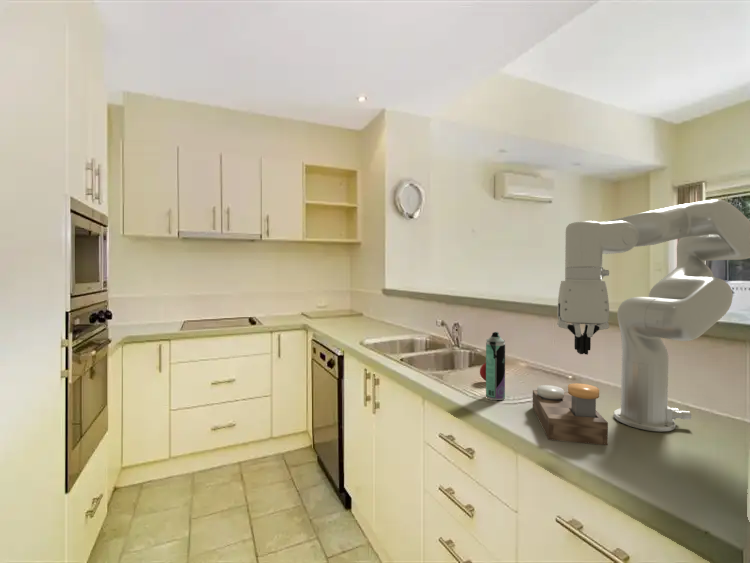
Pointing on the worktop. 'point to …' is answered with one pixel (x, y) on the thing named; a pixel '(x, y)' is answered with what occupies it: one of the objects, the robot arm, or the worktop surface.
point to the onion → (483, 371)
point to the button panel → (569, 422)
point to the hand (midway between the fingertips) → (582, 353)
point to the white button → (550, 392)
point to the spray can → (495, 367)
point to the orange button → (583, 399)
